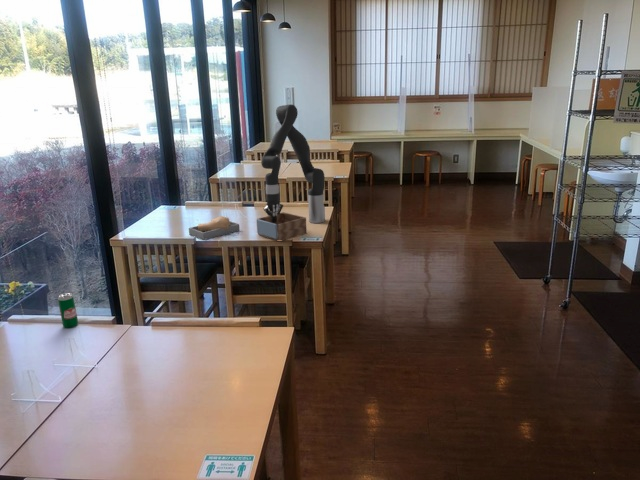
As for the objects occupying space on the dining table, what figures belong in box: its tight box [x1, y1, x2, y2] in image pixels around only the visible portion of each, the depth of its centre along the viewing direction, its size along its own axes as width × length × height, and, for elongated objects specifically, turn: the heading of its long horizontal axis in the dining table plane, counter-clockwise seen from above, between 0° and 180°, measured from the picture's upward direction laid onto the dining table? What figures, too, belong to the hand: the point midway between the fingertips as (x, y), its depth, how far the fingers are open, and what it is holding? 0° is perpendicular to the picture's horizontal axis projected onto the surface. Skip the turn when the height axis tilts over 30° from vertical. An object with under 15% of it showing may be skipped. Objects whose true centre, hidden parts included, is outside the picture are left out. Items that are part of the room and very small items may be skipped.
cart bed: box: [257, 211, 308, 241], centre depth 285 cm, size 20×20×10 cm
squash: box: [197, 215, 231, 232], centre depth 292 cm, size 11×20×9 cm, turn 86°
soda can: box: [57, 292, 79, 329], centre depth 180 cm, size 5×5×12 cm
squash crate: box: [188, 220, 241, 241], centre depth 292 cm, size 25×16×4 cm, turn 134°
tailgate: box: [256, 218, 278, 239], centre depth 277 cm, size 1×17×8 cm, turn 44°
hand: (274, 222), depth 280 cm, fingers closed
